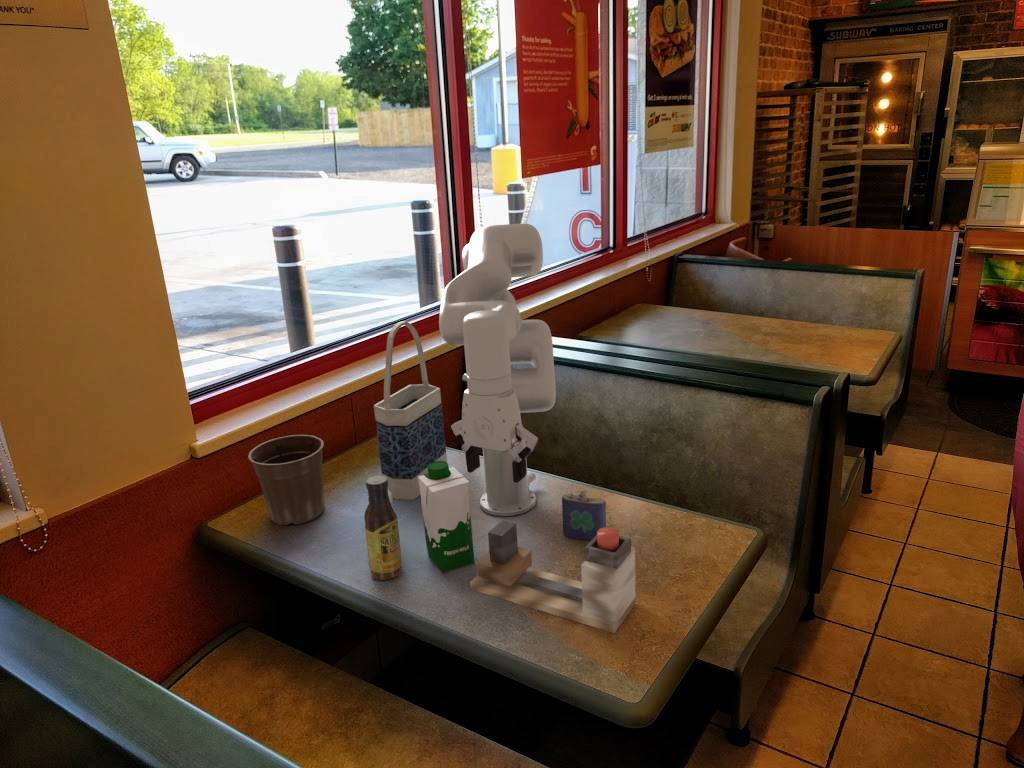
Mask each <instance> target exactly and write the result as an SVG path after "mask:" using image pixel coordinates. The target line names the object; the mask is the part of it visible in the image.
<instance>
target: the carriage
mask: <svg viewBox="0 0 1024 768" xmlns="http://www.w3.org/2000/svg"><path fill="white" fill-rule="evenodd" d="M517 529H518V528H517V523H516V522H512V521H509V520H505V519H501V520H499V522H498V523H497V524H496V525H494V526H493V527H492V528H491V529H490V530H489V531H488V532H487V538H488V539H487V541H488V551H487V552H486V553H485V554H484V555H483V556H482V557H481V558H479V560H478V561H477V562H476V570H477V571H476V573H477V575H478V577H481V578H484V579H487V580H491V581H494V582H497V583H501V584H504V585H508V586H511V585H512V584H513V583H514V582H515V581H516V580H517V579H518V578H519V577H520V576H521V575H522V574H523V573H524V572H525V571H526V570H527V569H528V568H529V567H530V568H531V566H532V565H533V557H532V555H533V554H532V550H531V549H528V548H525V547H521V546H519V545H518V531H517Z"/></svg>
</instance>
